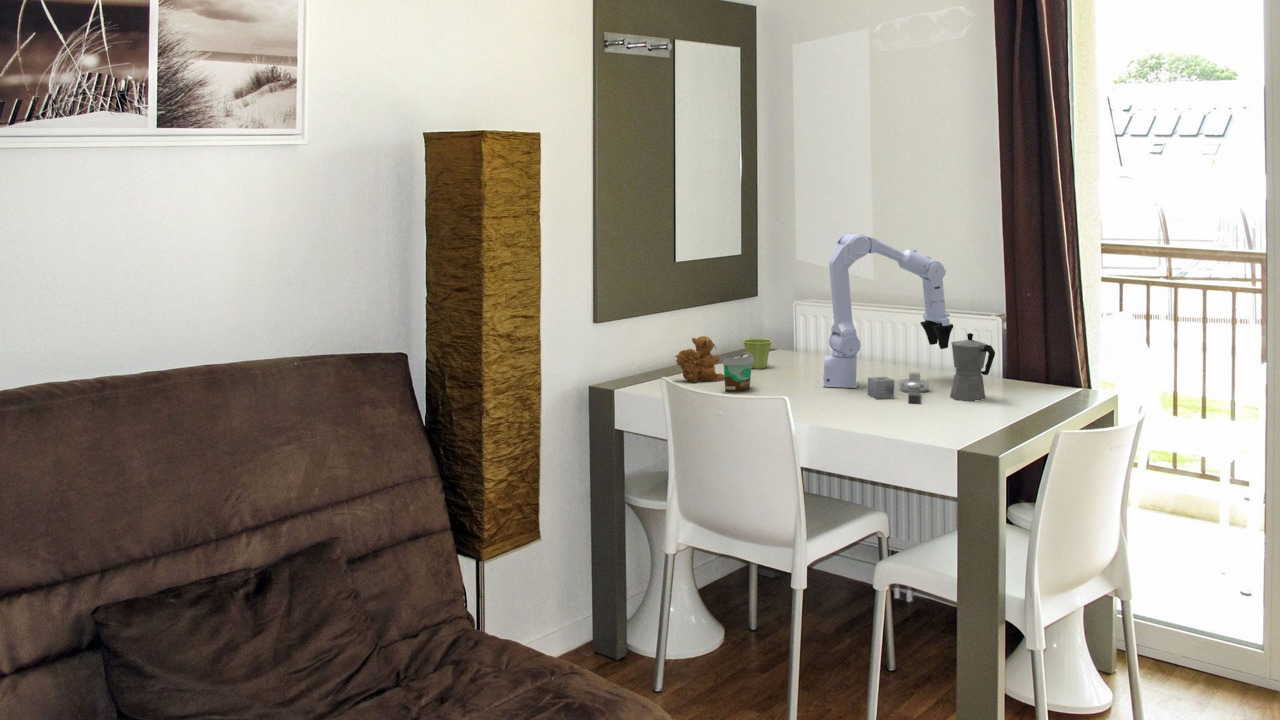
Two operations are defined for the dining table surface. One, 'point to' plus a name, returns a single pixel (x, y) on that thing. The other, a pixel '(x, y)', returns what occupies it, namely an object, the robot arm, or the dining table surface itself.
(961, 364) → the coffeepot
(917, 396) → the ratchet
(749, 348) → the plant pot
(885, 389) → the grey cube
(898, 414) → the dining table surface
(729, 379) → the food container
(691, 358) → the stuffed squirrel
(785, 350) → the dining table surface
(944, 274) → the robot arm
